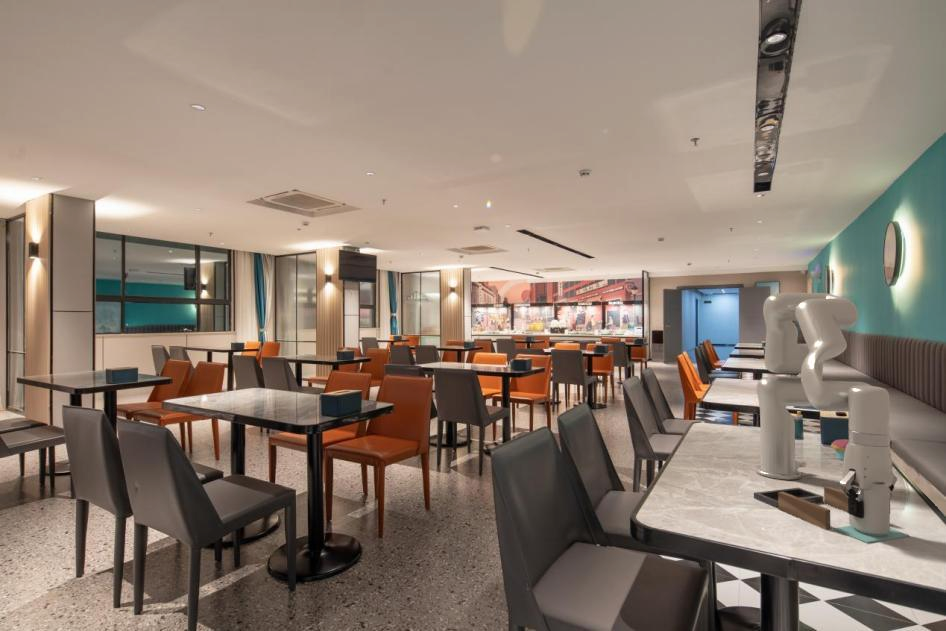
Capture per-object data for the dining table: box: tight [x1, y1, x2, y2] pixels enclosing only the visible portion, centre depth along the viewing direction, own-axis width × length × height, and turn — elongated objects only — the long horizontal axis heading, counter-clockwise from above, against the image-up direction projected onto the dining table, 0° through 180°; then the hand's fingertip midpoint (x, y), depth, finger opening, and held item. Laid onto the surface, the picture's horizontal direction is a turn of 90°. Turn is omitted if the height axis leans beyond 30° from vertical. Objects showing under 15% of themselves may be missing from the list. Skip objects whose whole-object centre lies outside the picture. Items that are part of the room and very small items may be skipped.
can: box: [848, 483, 891, 536], centre depth 116 cm, size 8×8×12 cm
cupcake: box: [830, 438, 849, 460], centre depth 176 cm, size 9×8×12 cm
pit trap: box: [753, 487, 824, 509], centre depth 136 cm, size 16×8×2 cm, turn 105°
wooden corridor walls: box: [778, 486, 848, 531], centre depth 126 cm, size 17×13×4 cm
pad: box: [833, 525, 910, 544], centre depth 115 cm, size 13×8×1 cm, turn 105°
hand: (869, 513), depth 116 cm, fingers closed on can, 7 cm apart
